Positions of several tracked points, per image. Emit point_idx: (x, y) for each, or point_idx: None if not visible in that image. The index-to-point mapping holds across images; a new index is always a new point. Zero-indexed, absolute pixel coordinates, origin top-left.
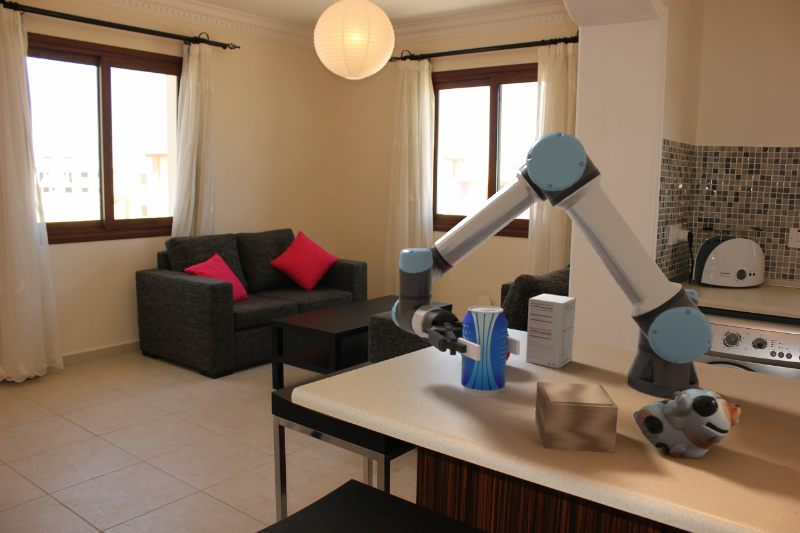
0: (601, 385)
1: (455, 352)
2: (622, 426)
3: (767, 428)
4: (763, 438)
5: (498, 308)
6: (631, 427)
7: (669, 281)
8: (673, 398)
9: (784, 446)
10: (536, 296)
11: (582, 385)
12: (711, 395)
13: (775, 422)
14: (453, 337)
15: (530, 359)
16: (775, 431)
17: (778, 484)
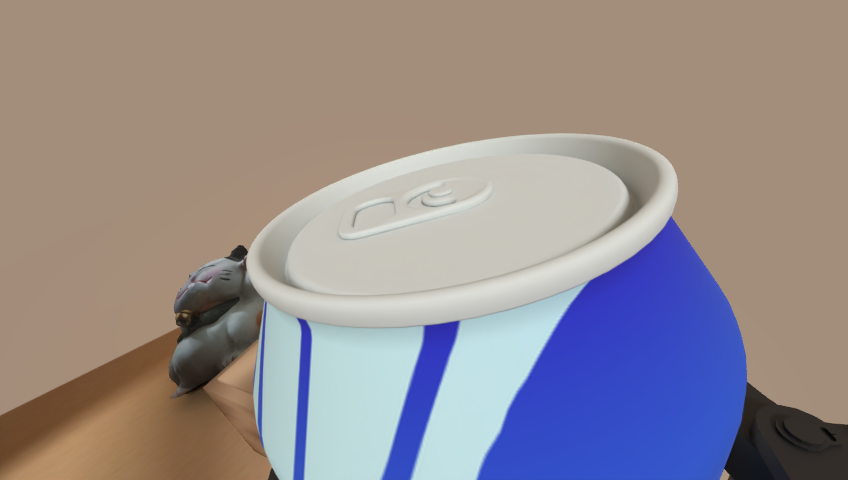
0: (206, 385)
1: (729, 476)
2: (221, 437)
3: (74, 393)
4: (132, 365)
5: (277, 237)
6: (214, 429)
7: None
8: (192, 321)
9: (152, 344)
10: None
11: (252, 378)
12: (220, 258)
13: (28, 411)
14: (806, 437)
15: None
16: (85, 382)
17: None
